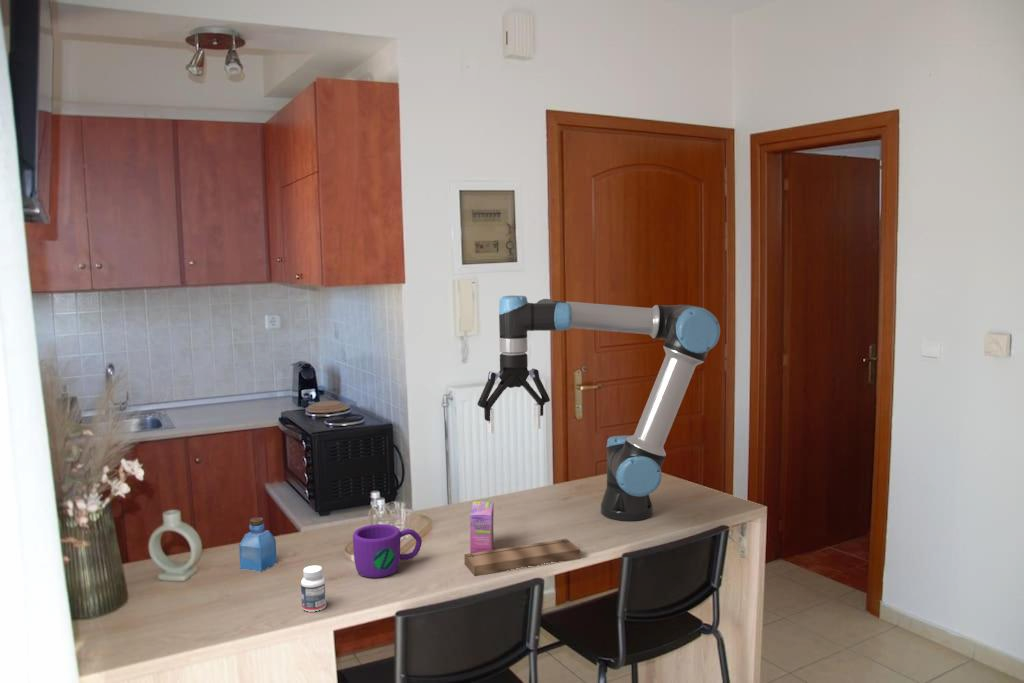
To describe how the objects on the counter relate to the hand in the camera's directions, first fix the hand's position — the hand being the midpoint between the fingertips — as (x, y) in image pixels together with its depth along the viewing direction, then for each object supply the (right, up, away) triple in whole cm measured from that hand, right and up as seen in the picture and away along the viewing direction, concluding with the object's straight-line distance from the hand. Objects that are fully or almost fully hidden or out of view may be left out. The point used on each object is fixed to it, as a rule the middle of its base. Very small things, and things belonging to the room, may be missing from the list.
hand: (514, 430), depth 218 cm
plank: (+2, -31, -18) cm, 36 cm away
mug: (-31, -32, -21) cm, 49 cm away
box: (-8, -31, -11) cm, 34 cm away
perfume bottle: (-64, -32, -19) cm, 74 cm away
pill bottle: (-44, -35, -42) cm, 70 cm away
